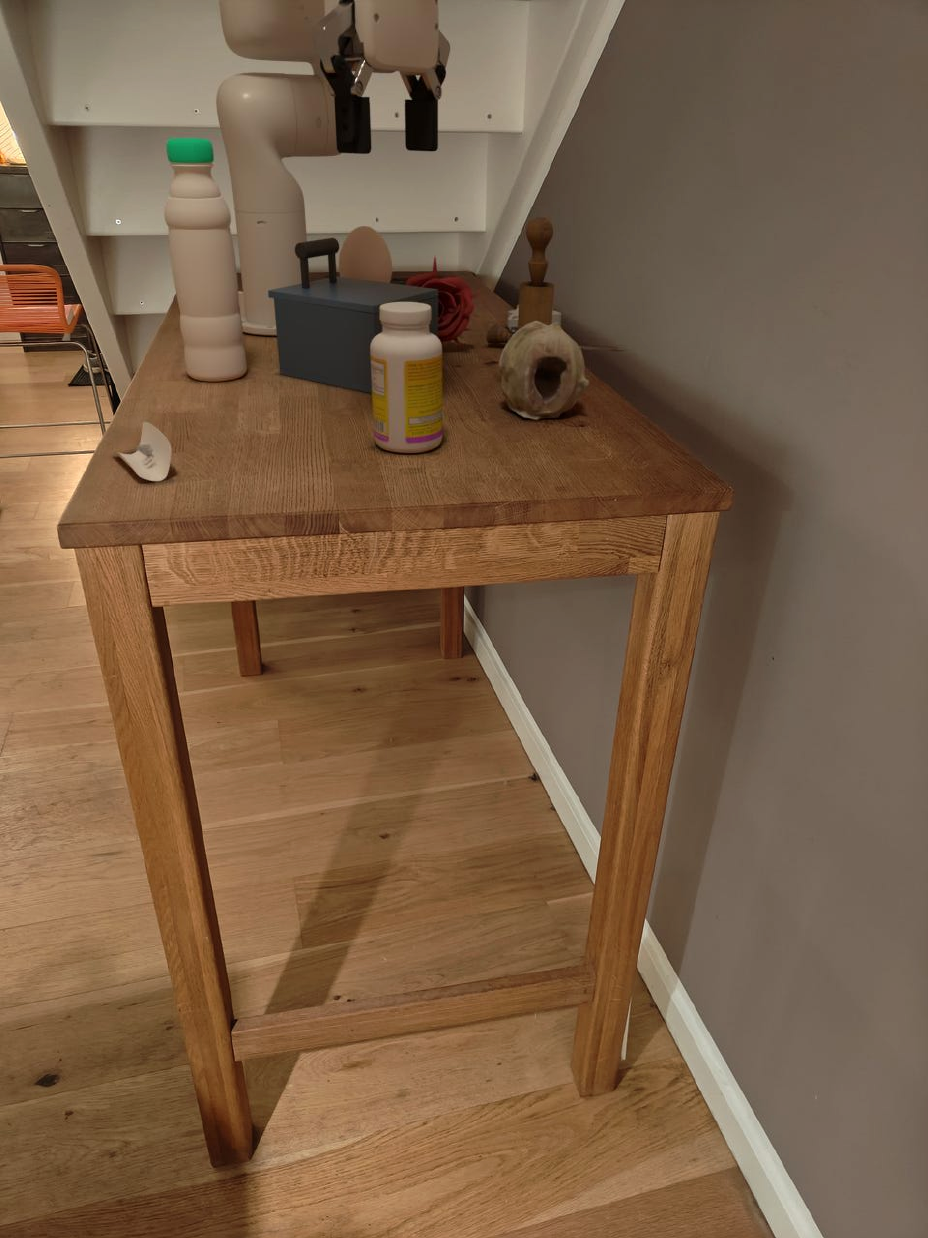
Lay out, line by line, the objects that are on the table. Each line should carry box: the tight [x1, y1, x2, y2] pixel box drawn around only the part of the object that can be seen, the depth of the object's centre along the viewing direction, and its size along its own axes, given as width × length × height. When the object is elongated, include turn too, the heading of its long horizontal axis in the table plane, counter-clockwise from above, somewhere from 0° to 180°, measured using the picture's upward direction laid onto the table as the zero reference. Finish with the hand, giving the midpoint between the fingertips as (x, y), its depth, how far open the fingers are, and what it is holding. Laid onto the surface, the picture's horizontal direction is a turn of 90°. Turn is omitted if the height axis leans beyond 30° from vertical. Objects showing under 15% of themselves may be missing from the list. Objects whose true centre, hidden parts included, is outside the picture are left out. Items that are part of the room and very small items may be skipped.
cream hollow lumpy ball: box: [498, 321, 590, 421], centre depth 93 cm, size 9×8×10 cm
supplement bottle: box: [370, 302, 443, 454], centre depth 82 cm, size 7×7×13 cm
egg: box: [338, 225, 393, 283], centre depth 143 cm, size 9×9×12 cm
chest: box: [274, 297, 438, 394], centre depth 106 cm, size 15×13×9 cm
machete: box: [486, 322, 629, 353], centre depth 120 cm, size 21×3×5 cm
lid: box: [268, 237, 438, 313], centre depth 102 cm, size 15×13×6 cm
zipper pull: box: [506, 304, 562, 333], centre depth 125 cm, size 8×18×4 cm, turn 168°
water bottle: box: [163, 137, 248, 383], centre depth 99 cm, size 7×7×25 cm
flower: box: [406, 256, 482, 350], centre depth 126 cm, size 13×12×30 cm
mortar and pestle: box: [518, 217, 555, 330], centre depth 101 cm, size 7×6×18 cm
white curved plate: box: [109, 421, 173, 482], centre depth 78 cm, size 4×8×3 cm
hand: (389, 151), depth 76 cm, fingers open, 9 cm apart
